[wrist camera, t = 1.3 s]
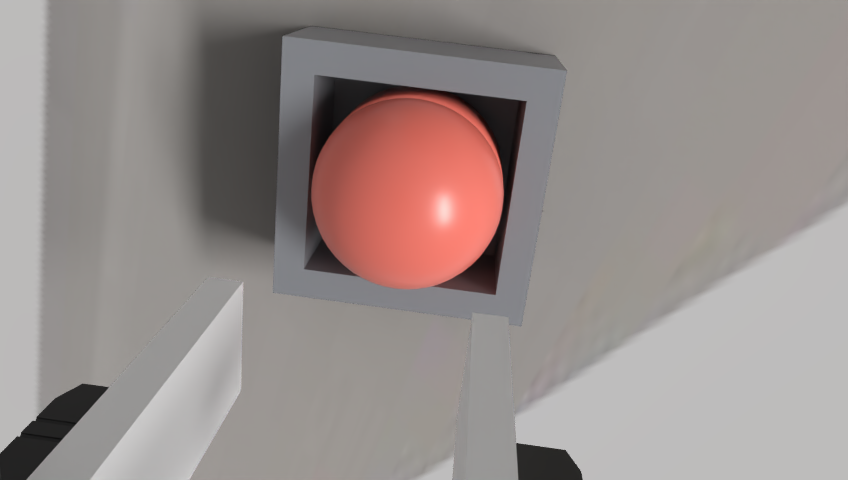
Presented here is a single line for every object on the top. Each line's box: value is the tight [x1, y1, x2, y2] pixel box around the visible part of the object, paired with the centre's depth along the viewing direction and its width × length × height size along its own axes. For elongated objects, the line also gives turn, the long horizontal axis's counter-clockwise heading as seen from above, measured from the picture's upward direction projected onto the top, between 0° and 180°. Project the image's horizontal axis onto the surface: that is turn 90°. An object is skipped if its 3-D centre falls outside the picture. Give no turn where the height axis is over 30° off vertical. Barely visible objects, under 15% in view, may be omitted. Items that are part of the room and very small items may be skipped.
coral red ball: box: [311, 86, 504, 289], centre depth 27 cm, size 7×7×7 cm
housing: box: [273, 26, 567, 326], centre depth 29 cm, size 10×10×4 cm
